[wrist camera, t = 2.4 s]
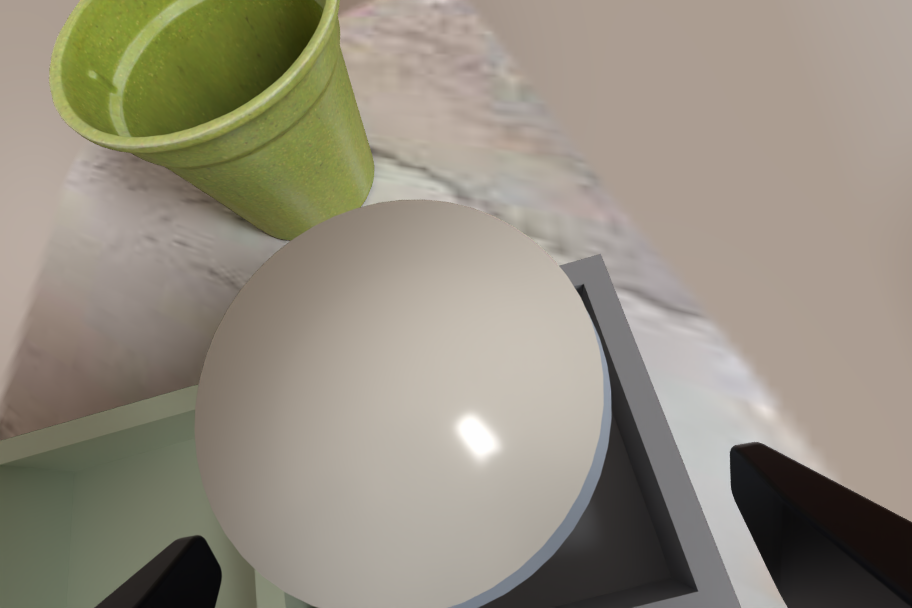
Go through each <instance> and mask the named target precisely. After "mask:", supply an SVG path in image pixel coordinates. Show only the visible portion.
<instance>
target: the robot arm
mask: <svg viewBox="0 0 912 608" xmlns="http://www.w3.org/2000/svg"><path fill="white" fill-rule="evenodd" d="M730 474H731V490H732V494H733V497H734V500H735V502H736V504H737V506H738V508H739V510H740V512H741V514H742V517H743V519H744V521H745V523H746V525H747V527H748V529H749V531H750V533H751V535H752V537H753V539H754V542H755V544H756V546H757V548H758V550H759V552H760V554H761V556H762V558H763V560H764V562H765V564H766V567H767V569H768V571H769V573H770V575H771V577H772V579H773V581H774V583H775V585H776V587H777V589H778V591H779V593H780V595H781V597H782V598H783V600H784V602H785V604H786V605H787V607H788V608H912V522H911V521H909V520H907V519H905V518H903V517H901V516H899V515H897V514H895V513H893V512H892V511H890V510H888V509H886V508H884V507H882V506H880V505H878V504H876V503H874V502H873V501H871V500H869V499H867V498H865V497H863V496H861V495H859V494H857V493H855V492H854V491H852V490H850V489H848V488H846V487H844V486H842V485H840V484H838V483H836V482H835V481H833V480H831V479H829V478H827V477H825V476H823V475H821V474H819V473H817V472H816V471H814V470H812V469H810V468H808V467H806V466H804V465H802V464H800V463H798V462H797V461H795V460H793V459H791V458H789V457H787V456H785V455H783V454H781V453H779V452H778V451H776V450H774V449H772V448H770V447H768V446H766V445H764V444H762V443H759V442H752V443H746V444H740V445H735V446H733V447H732V448H731V451H730ZM221 581H222V571H221V567H220V565H219V563H218V561H217V559H216V557H215V555H214V554H213V552H212V550H211V548H210V546H209V545H208V543H207V541H206V539H205V538H204V537H202V536H201V535H194V536H188V537H182V538H179V539H176V540H175V541H173V542H172V543H171V544H170V545H168V546H167V547H166V548H165V549H164V550H162V551H161V552H160V553H159V554H158V555H157V556H155V557H154V558H153V559H152V560H151V561H149V562H148V563H147V564H146V565H145V566H143V567H142V568H141V569H140V570H139V571H137V572H136V573H135V574H134V575H133V576H131V577H130V578H129V579H128V580H127V581H125V582H124V583H123V584H122V585H121V586H119V587H118V588H117V589H116V590H115V591H113V592H112V593H111V594H110V595H109V596H107V597H106V598H105V599H104V600H103V601H101V602H100V603H99V604H98V605H97V606H96V607H94V608H215V606H216V602H217V598H218V594H219V590H220V586H221Z"/></svg>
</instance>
